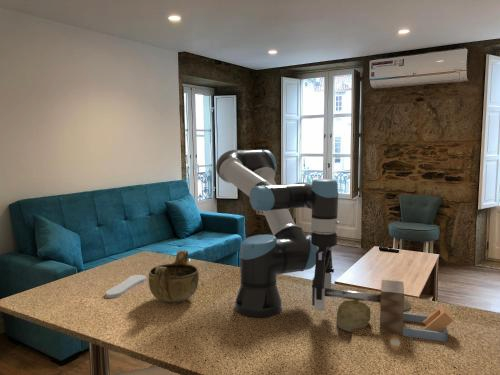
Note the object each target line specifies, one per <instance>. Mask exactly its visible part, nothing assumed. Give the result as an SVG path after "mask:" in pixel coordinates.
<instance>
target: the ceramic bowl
mask: <svg viewBox="0 0 500 375" xmlns="http://www.w3.org/2000/svg"><path fill="white" fill-rule="evenodd" d="M188 256H189V251H188V250H186V249H185V250H181V249H180V250H179V249H178V250H177V252H176V255H175V261H174V262H172V263H165V264H163V263H162V264H160V265H159V264H158V265H155V266H153V267H152V268H150V269H149V270H148V286H149V290H150V293H151V294H152V295H153V297H154V298H155V299H156V300H158V301H159V302H162V303H165V304H172V305H173V304H180V303H183V302H184V301H186V300H188V299H190V298H191V297H192V296H193V295H194V294H195V293H196V291H197V289H198V287H199V286H198V285H199V280H200V279H199V276H200V274H199V268H198V267H197V266H196V265H193V264H190V263H188V260H189V258H188Z"/></svg>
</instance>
